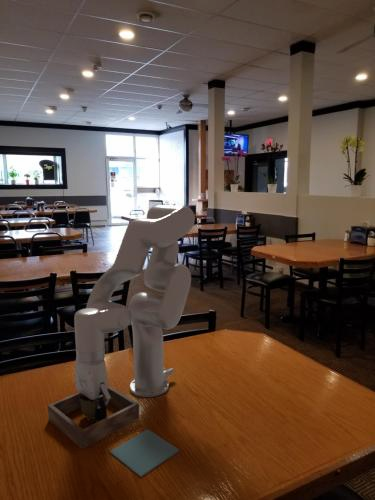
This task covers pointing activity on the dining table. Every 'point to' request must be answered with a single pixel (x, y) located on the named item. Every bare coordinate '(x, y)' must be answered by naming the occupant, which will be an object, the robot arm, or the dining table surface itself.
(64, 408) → the grey square frame
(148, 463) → the light blue square plate
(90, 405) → the dark rounded piece
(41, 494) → the dining table surface
